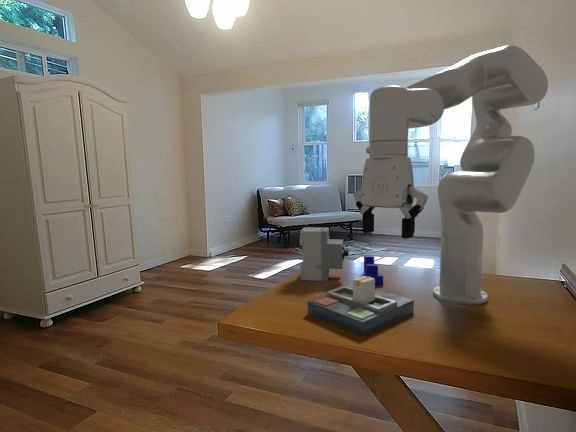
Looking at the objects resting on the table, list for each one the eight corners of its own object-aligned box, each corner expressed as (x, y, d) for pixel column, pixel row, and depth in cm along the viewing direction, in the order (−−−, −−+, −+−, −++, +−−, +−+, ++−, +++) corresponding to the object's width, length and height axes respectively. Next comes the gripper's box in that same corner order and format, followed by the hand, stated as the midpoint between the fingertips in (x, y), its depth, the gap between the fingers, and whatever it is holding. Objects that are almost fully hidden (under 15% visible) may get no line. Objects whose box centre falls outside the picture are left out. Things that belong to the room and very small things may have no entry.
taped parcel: (364, 296, 85) (364, 275, 84) (374, 300, 82) (375, 278, 82) (352, 301, 82) (352, 279, 81) (363, 304, 80) (363, 281, 79)
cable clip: (383, 286, 103) (383, 265, 102) (367, 286, 104) (367, 265, 103) (378, 274, 115) (378, 256, 114) (363, 274, 116) (363, 255, 115)
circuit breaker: (347, 281, 108) (347, 231, 106) (300, 279, 110) (299, 231, 109) (348, 274, 115) (348, 227, 113) (304, 273, 118) (303, 227, 116)
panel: (358, 295, 95) (358, 280, 95) (413, 312, 83) (413, 295, 82) (307, 313, 84) (307, 297, 83) (363, 336, 71) (363, 317, 71)
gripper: (343, 153, 78) (343, 232, 80) (416, 147, 64) (414, 242, 66) (366, 154, 82) (365, 228, 84) (438, 149, 69) (435, 238, 71)
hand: (386, 234), depth 75 cm, fingers open, 9 cm apart
